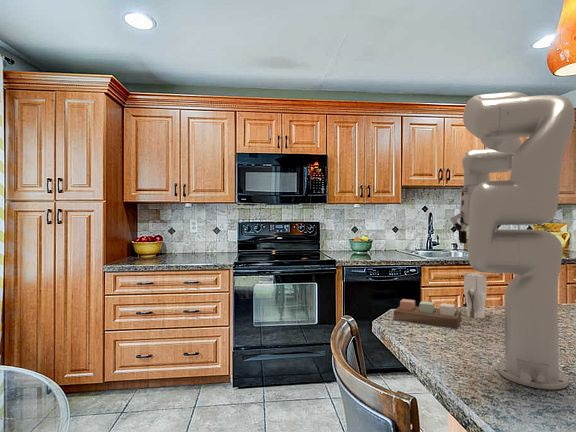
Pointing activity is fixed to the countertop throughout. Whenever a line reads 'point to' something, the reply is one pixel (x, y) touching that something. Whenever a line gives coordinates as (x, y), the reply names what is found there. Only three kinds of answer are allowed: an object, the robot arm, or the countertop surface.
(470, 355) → the countertop surface
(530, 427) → the countertop surface
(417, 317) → the console
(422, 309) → the key sage
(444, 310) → the key cream
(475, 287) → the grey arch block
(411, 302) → the key terracotta
